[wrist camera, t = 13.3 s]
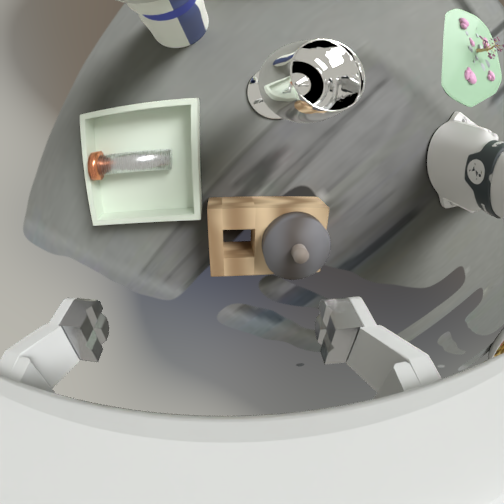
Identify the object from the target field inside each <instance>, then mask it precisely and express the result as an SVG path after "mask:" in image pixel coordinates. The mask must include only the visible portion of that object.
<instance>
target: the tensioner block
mask: <svg viewBox="0 0 504 504" xmlns="http://www.w3.org/2000/svg"><path fill="white" fill-rule="evenodd" d="M328 215H329V207H328V206H327V205H326V204H325V203H324V202H323V201H321V200H320V199H319V198H318V197H291V196H290V197H289V196H288V197H286V196H258V197H211V198H209V200H208V207H207V218H208V238H209V255H210V270H211V276H212V277H213V276H242V275H267V274H275V275H277V276H279V277H281V278H284V279H289V280H297V279H302V278H306V277H308V276H310V275H312V274H314V273H316V272H320V269H321V267H322V266H323V265H324V264H325V262H326V261H327V259H328V257H329V254H330V250H331V240H330V236H329V234H328V232H327V222H328ZM238 229H251V241H242V242H223V230H238Z"/></svg>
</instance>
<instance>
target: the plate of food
mask: <svg viewBox="0 0 504 504" xmlns="http://www.w3.org/2000/svg"><path fill="white" fill-rule="evenodd" d="M503 353H504V328H503V329H502V330H501V332H500V333H499V334H498V336H497V337H496V339H495V341H494V342H493V344H492V346H491V348H490V350H489V354H488V360H489V359H491V358H494V357H496V356H498V355H500V354H503Z"/></svg>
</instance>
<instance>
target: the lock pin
mask: <svg viewBox="0 0 504 504" xmlns="http://www.w3.org/2000/svg"><path fill="white" fill-rule="evenodd" d="M171 169H172V150H171V149H157V150H144V151H133V152H123V153H115V154H107V155H104V154H103V152H102V151H97V152H92V153H91V154H90V155H89V158H88V174H89V177H90V179H91V180H92V181H96V180H102V179H103V178H104V175H110V174H119V173H130V172H142V171H155V170H171Z"/></svg>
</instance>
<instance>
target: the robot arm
mask: <svg viewBox="0 0 504 504" xmlns="http://www.w3.org/2000/svg"><path fill="white" fill-rule="evenodd" d="M498 138H499V137H498V135H497V134H495V133H493V132H491V131H490V130H488V129H486V128H483V127H480V126H477V125H476V124H475V123H473V122H472V121H471V120H470V119H468V118H467V117H466V116H465V115H463V114H462V113H460V112H454V114H453V115H452V117H451V118H450V120H449V121H448V122H447V123H445V124H443V125H442V126H440V127H439V128H438V129H437V131H436V132H435V133H434V135H433V137H432V139H431V142H430V145H429V149H428V155H427V169H428V175H429V178H430V181H431V183H432V185H433V187H434V188H435V190H436V191H437V193H438V194H439V198H440V203H441V205H442V207H445V208H451V207H456V206H459V207H461V208H463V209H465V210H467V211H469V212H472V213H474V211H480V210H484V211H485V212H486V213H487V214H489V215H491V216H494V217H496V218H502V219H504V142H502V141H498ZM102 309H103V307H102V305H101V303H100V301H98V300H91V299H79V298H77V299H76V298H65V299H64V300H63V302H62V303H61V305H60V306H59V308H58V309H57V311H56V313H55V314H54V316H53V317H52V319H51V320H50V322H49V324H44V325H43V326H41V327H40V328H38V329H37V330H36V331H34V332H32V333H31V334H29V335H28V336H26V337H25V338H23V339H22V340H20V341H19V342H17V343H16V344H14V345H13V346H12V347H10V348H9V349H7V350H6V351H5V353H4V355H3V356H2V358H1V360H0V504H504V353H503V354H500V355H498V356H496V357H494V358H491V359H489V360H487V361H485V362H483V363H481V364H479V365H476V366H474V367H471V368H470V369H467V370H464V371H462V372H459V373H457V374H455V375H452V376H449V377H446V378H444V379H442V378H441V377H440V375H439V373H438V372H437V369H436V368H435V366H434V364H433V362H432V361H431V359H430V357H429V356H428V354H426V353H424V352H423V351H421V350H420V349H418V348H416V347H415V346H413V345H412V344H410V343H409V342H407V341H405V340H404V339H402V338H401V337H399V336H397V335H396V334H394V333H392V332H391V331H389V330H388V329H386V328H385V327H383V326H381V325H377V324H376V323H375V321H374V319H373V317H372V315H371V314H370V312H369V310H368V308H367V307H366V305H365V303H364V301H363V300H362V298H361V297H348V298H339V299H324V300H321V301H320V303H319V308H318V309H319V311H320V314H319V315H318V316H317V317H316V322H315V334H316V339H317V342H318V343H320V344H321V345H322V346H321V350H320V352H321V355H322V358H323V361H324V364H325V365H326V364H336V363H345V362H346V364H347V365H348V366H349V367H350V368H352V369H353V370H354V371H355V372H356V373H357V374H358V375H359V376H360V377H361V378H362V379H364V381H366V382H367V383H368V384H369V385H370V386H371V387H372V388H373V389H374V390H375V391H377V394H376V396H375V397H374V398H373V399H372V400H367V401H362V402H358V403H353V404H348V405H342V406H336V407H330V408H324V409H317V410H309V411H302V412H292V413H281V414H268V415H249V416H199V415H180V414H166V413H156V412H147V411H139V410H132V409H125V408H119V407H112V406H107V405H102V404H97V403H92V402H87V401H83V400H78V399H74V398H70V397H66V396H63V395H59V394H56V393H55V392H54V391H53V390H52V388H53V387H54V386H55V385H56V384H57V383H58V382H59V381H60V380H61V379H62V378H63V377H64V376H65V375H66V374H67V373H68V372H69V371H70V370H71V369H72V368H73V367H74V366H75V365H77V364H78V363H79V362H80V360H85V361H93V362H98V361H99V358H100V355H101V353H102V350H103V348H102V345H101V344H103V343H104V342H105V341H106V340H107V337H108V334H109V325H108V321H107V318H106V317H105V316H104V315H103V314H102V313H101V312H102Z"/></svg>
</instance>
